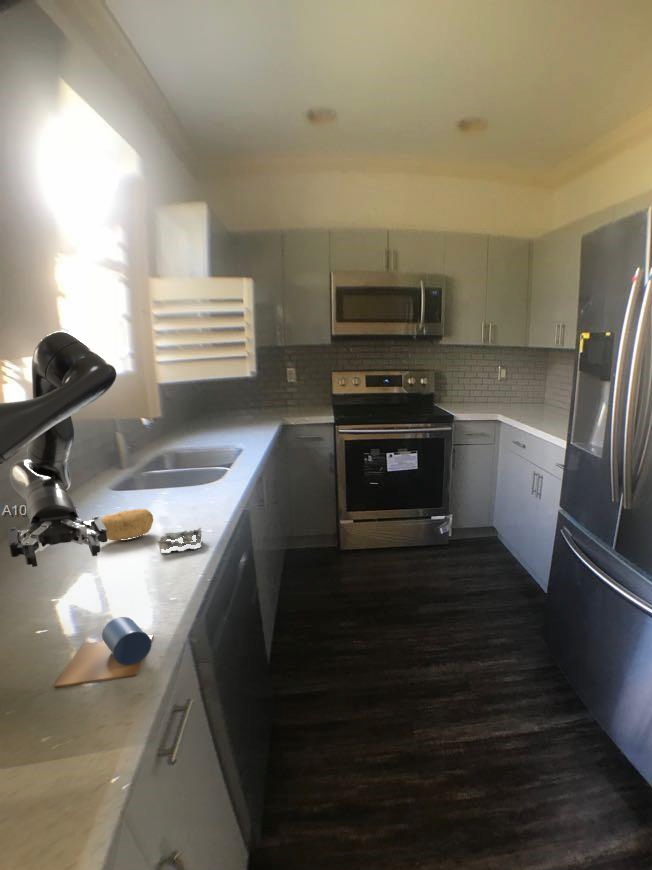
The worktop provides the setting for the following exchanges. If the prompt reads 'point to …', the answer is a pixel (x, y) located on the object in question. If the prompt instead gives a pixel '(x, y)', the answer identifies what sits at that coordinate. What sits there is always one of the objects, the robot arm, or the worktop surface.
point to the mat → (95, 666)
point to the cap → (126, 641)
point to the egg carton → (186, 539)
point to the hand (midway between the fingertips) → (65, 556)
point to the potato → (128, 524)
